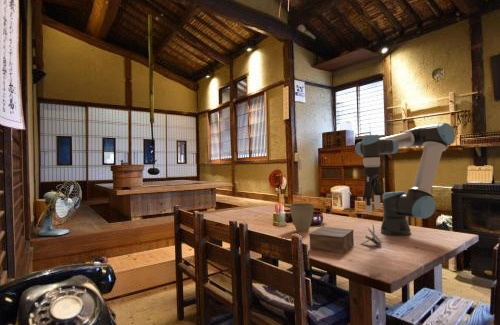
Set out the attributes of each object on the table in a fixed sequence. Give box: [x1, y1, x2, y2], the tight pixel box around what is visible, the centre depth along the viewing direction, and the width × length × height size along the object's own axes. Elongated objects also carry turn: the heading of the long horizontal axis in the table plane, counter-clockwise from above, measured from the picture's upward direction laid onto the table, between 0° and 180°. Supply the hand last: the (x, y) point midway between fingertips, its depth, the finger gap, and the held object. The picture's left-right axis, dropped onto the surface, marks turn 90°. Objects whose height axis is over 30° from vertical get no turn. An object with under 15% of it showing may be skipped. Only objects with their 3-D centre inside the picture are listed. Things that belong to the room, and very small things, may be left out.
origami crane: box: [360, 225, 384, 248], centre depth 144 cm, size 11×10×10 cm
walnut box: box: [308, 226, 355, 255], centre depth 144 cm, size 16×16×8 cm
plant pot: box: [289, 202, 315, 233], centre depth 181 cm, size 15×15×16 cm
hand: (373, 210), depth 142 cm, fingers open, 13 cm apart
